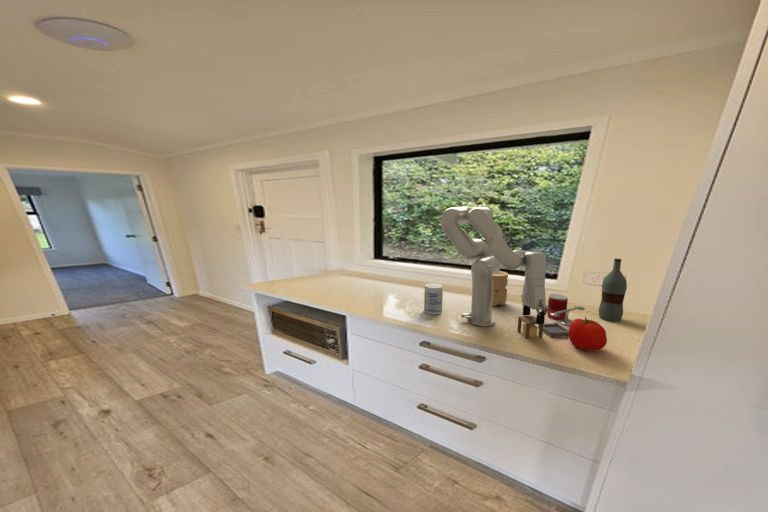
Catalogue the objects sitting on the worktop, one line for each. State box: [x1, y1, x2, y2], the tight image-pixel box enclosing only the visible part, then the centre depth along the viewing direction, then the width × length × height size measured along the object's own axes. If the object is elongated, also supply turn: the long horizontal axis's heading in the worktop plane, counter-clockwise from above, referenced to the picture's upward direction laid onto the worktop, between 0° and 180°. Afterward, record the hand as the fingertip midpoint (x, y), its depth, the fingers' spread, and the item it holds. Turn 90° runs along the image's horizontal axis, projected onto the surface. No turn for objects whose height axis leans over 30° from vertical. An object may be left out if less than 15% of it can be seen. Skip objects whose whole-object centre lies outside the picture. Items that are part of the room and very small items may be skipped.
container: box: [492, 270, 509, 307], centre depth 159 cm, size 13×13×18 cm
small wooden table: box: [517, 315, 544, 340], centre depth 121 cm, size 7×7×7 cm
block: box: [522, 323, 538, 338], centre depth 122 cm, size 4×4×4 cm
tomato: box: [568, 316, 608, 352], centre depth 109 cm, size 12×13×12 cm
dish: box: [537, 322, 569, 338], centre depth 124 cm, size 9×9×2 cm
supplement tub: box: [423, 282, 444, 316], centre depth 148 cm, size 10×10×15 cm
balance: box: [550, 305, 585, 327], centre depth 131 cm, size 16×4×8 cm, turn 95°
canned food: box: [546, 293, 569, 321], centre depth 139 cm, size 8×8×11 cm
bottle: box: [598, 258, 628, 323], centre depth 134 cm, size 9×9×30 cm
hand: (533, 319), depth 120 cm, fingers open, 9 cm apart
